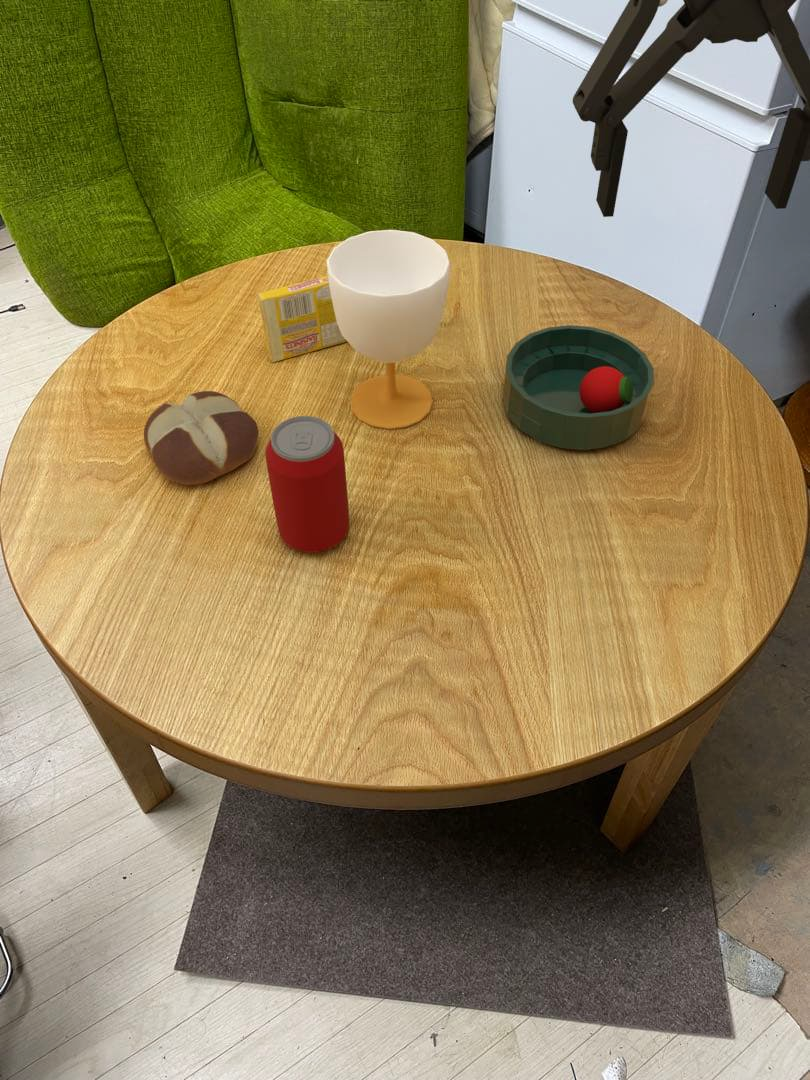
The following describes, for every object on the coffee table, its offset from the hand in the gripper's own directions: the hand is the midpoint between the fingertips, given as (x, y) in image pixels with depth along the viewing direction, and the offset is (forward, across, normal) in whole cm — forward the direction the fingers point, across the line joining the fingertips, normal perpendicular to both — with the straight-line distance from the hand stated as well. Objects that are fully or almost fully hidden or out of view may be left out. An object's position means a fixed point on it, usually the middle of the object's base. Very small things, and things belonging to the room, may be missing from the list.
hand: (689, 204), depth 68 cm
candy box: (+27, +30, -22) cm, 46 cm away
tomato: (+25, +4, -8) cm, 26 cm away
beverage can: (+27, +32, +8) cm, 43 cm away
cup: (+27, +24, -11) cm, 37 cm away
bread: (+27, +43, -5) cm, 51 cm away
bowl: (+27, +4, -9) cm, 29 cm away
